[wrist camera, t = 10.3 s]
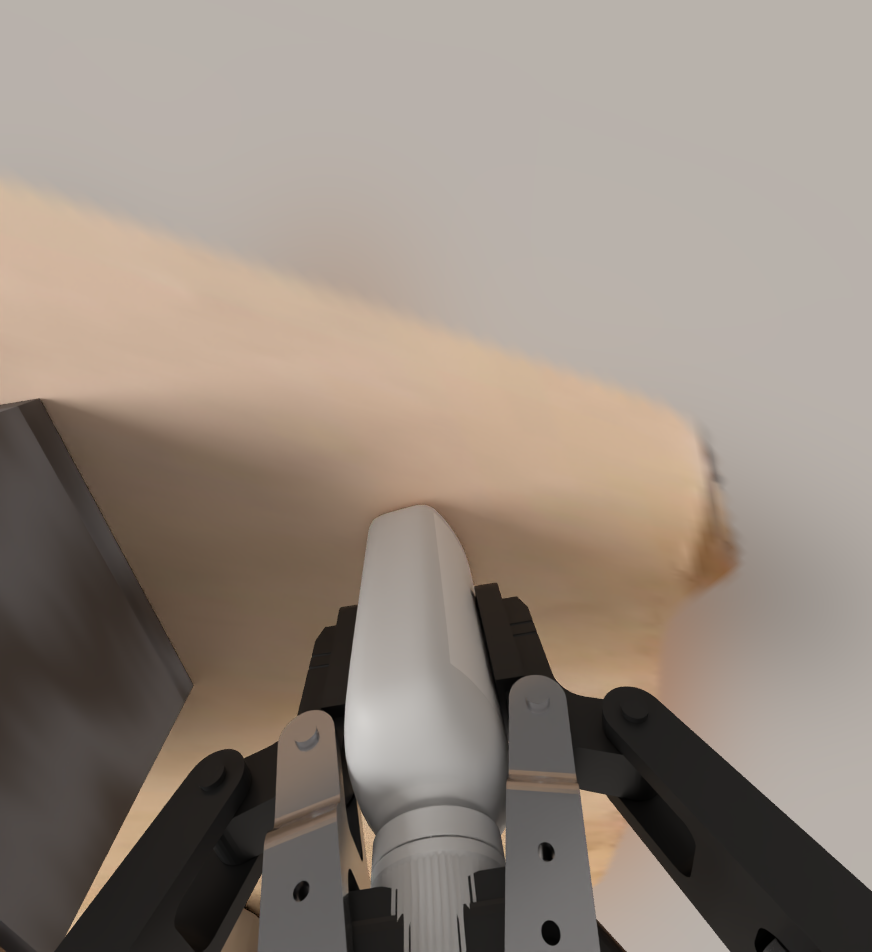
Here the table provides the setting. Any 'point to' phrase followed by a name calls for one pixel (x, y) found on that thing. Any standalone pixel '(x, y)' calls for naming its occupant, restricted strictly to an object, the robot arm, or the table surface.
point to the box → (67, 684)
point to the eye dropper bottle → (424, 726)
